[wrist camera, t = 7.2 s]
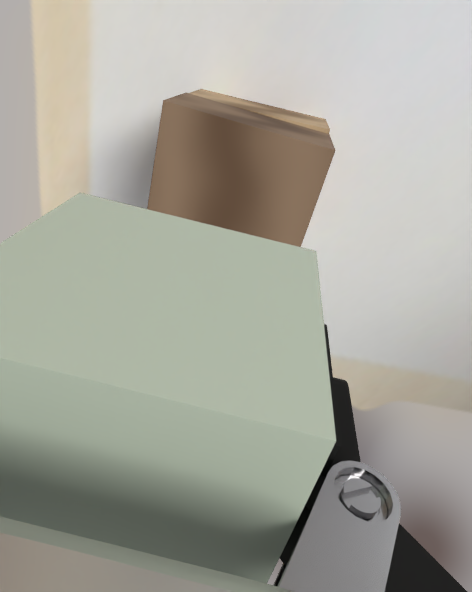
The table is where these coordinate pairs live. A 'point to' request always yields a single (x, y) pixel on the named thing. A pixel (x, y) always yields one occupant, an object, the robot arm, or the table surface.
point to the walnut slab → (237, 169)
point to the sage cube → (161, 384)
